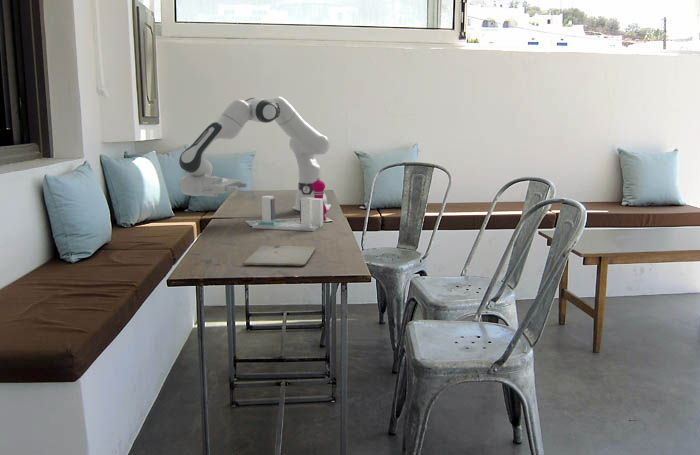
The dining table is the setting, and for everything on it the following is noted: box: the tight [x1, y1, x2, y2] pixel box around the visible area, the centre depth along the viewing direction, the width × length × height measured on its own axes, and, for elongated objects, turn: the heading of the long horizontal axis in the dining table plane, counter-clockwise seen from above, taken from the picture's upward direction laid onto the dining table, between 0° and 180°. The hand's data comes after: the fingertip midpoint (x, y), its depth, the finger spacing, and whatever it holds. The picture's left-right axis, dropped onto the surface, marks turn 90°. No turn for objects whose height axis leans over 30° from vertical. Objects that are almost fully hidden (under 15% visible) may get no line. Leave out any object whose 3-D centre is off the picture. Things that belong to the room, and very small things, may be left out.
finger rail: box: [251, 197, 320, 232], centre depth 270 cm, size 8×28×14 cm, turn 74°
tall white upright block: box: [261, 195, 276, 223], centre depth 272 cm, size 4×5×12 cm
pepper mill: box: [312, 177, 328, 222], centre depth 288 cm, size 7×7×20 cm
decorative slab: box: [243, 245, 317, 267], centre depth 217 cm, size 27×21×2 cm
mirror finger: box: [313, 198, 324, 228], centre depth 274 cm, size 4×5×12 cm
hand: (241, 186), depth 275 cm, fingers open, 8 cm apart
